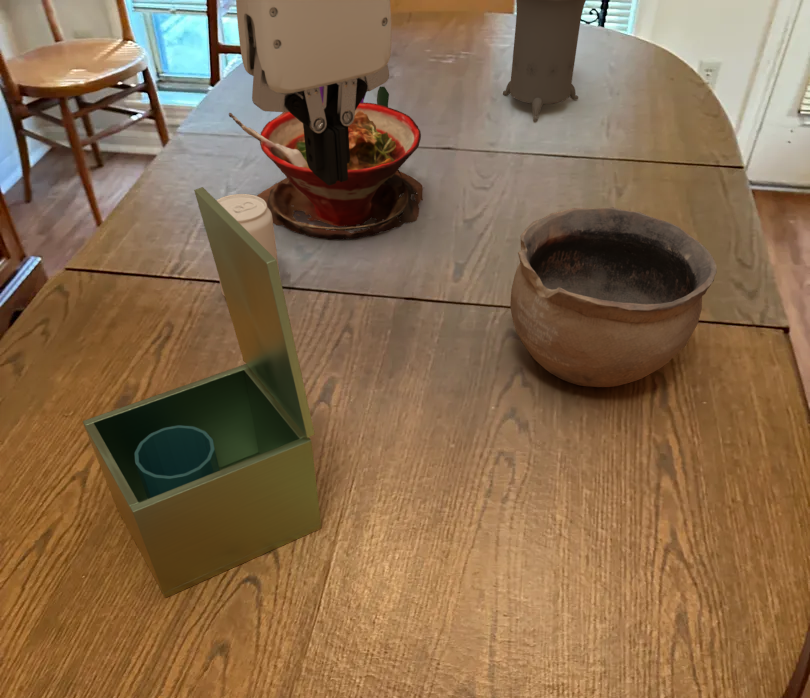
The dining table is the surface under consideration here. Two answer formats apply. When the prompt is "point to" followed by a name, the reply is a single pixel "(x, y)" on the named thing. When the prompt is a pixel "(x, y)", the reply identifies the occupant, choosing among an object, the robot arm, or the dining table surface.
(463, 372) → the dining table surface
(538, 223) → the ceramic bowl
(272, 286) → the bin lid
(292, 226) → the stew
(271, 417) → the bin
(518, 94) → the grey footed vase
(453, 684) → the dining table surface
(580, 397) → the dining table surface
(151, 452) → the cup
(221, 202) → the beverage can
